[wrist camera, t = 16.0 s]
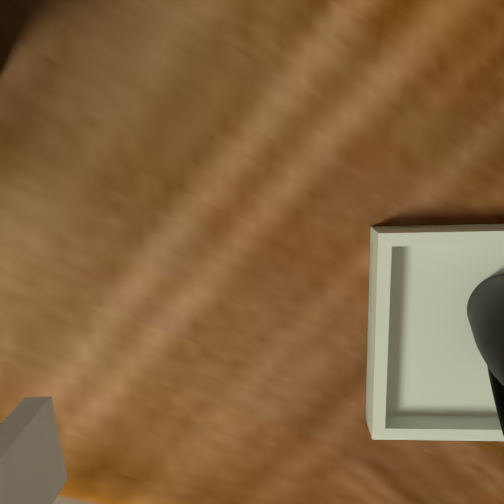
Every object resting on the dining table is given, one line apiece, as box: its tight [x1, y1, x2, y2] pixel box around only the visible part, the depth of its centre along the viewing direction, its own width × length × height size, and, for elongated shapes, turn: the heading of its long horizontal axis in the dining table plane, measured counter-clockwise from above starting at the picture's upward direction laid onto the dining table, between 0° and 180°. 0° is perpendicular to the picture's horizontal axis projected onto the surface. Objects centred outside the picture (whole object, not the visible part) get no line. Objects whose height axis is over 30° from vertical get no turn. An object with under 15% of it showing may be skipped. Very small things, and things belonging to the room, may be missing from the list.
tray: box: [366, 224, 504, 441], centre depth 36 cm, size 17×20×3 cm
